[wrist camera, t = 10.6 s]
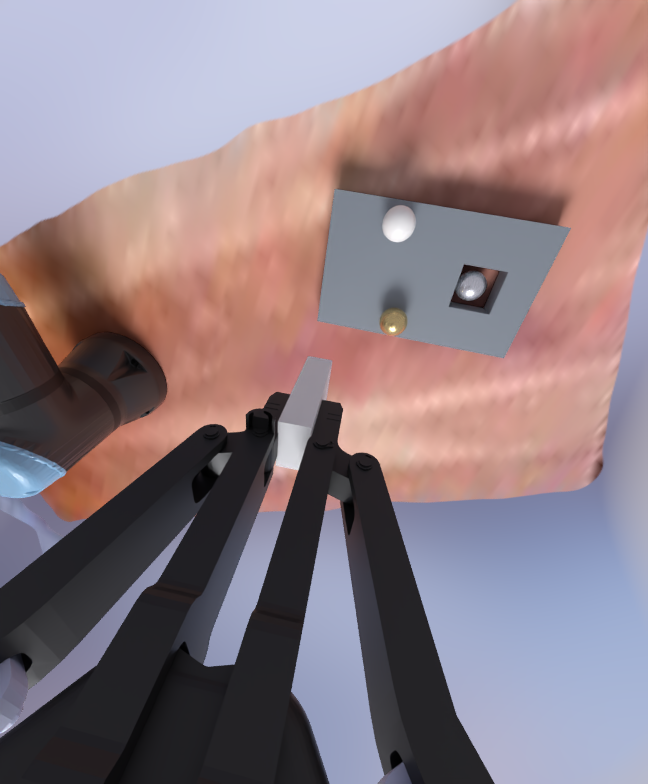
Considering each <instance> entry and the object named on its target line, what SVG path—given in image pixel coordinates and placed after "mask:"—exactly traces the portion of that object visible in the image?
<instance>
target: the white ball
mask: <svg viewBox="0 0 648 784" xmlns="http://www.w3.org/2000/svg"><path fill="white" fill-rule="evenodd" d="M415 225H416V218H415V215H414V213H413V211H412V210H411V209H410V208H409V207H407V206H404V205H398V206H395V207H393V208H391V209H390V210H389V211H388V212H387V213H386V215H385V216H384V219H383V223H382V229H383V232H384V235H385V236H386V237H387V238H388V239H389V240H390V241H393V242H402V241H404V240H406V239H408V238H409V237H410V236H411V234H412V233H413V231H414V229H415Z"/></svg>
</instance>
